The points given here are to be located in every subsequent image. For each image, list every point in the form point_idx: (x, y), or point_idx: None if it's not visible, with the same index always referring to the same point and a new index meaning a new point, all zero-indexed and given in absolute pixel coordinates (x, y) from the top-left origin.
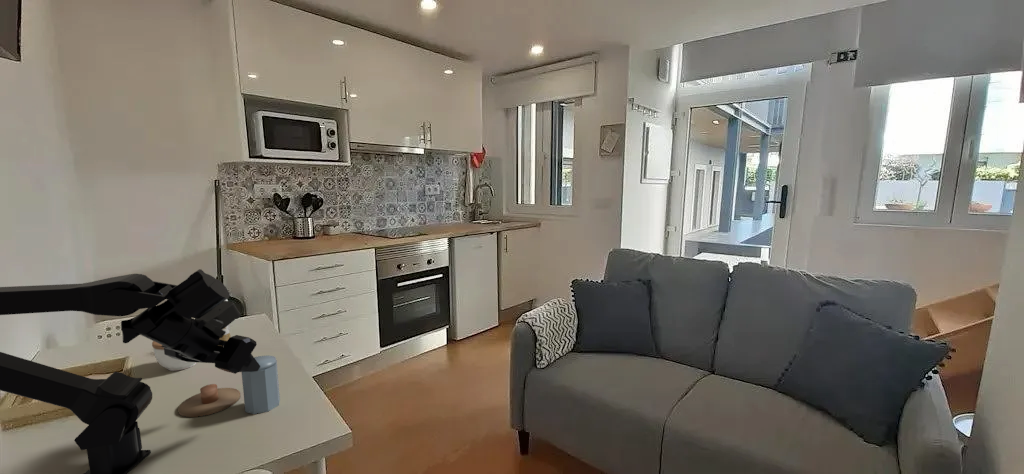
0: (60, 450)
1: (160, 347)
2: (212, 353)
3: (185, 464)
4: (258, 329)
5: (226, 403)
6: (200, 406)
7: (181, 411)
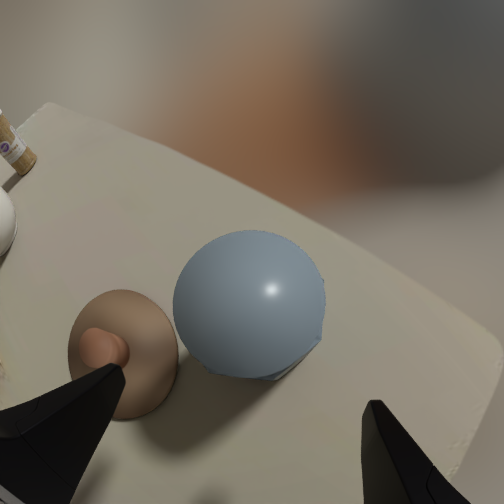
0: None
1: None
2: (65, 435)
3: None
4: (57, 117)
5: (164, 360)
6: None
7: None
